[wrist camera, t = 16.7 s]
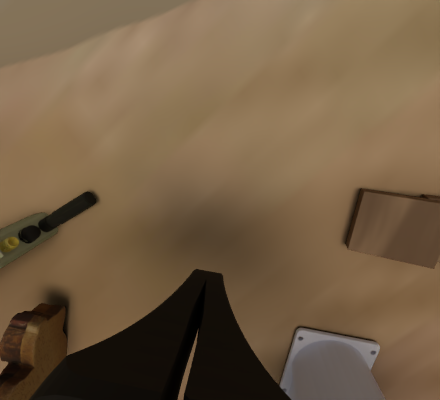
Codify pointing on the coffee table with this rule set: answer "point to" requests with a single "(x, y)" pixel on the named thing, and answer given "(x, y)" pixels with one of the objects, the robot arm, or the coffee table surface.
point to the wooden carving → (31, 350)
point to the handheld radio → (38, 228)
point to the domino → (396, 227)
